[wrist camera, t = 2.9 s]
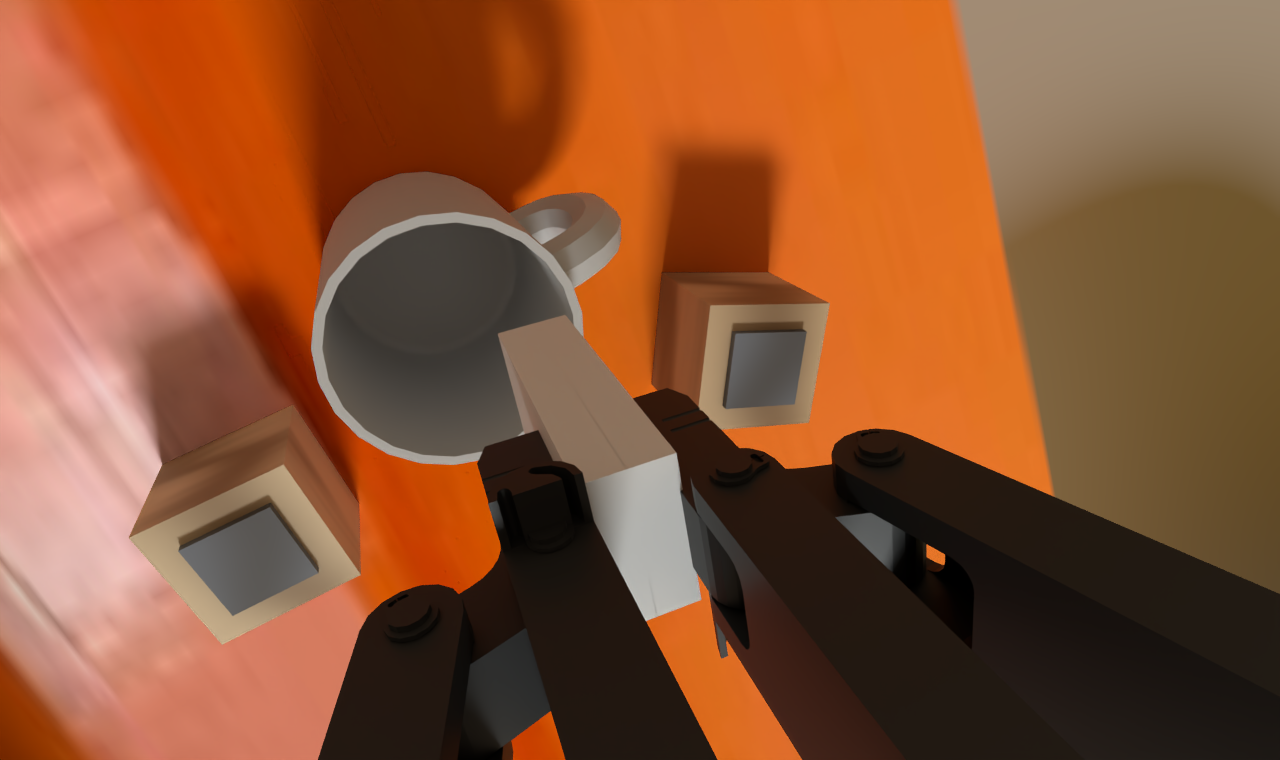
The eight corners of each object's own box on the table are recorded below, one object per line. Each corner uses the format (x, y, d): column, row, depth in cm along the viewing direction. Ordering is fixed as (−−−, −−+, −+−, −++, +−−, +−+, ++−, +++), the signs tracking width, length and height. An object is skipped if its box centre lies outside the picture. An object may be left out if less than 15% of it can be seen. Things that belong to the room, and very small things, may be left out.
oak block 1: (240, 560, 30) (220, 650, 26) (162, 463, 28) (126, 543, 23) (359, 502, 31) (360, 579, 27) (293, 403, 29) (282, 469, 24)
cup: (278, 228, 26) (248, 298, 19) (533, 97, 28) (605, 112, 20) (392, 391, 30) (407, 509, 22) (613, 269, 31) (702, 339, 23)
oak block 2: (650, 383, 34) (698, 434, 29) (661, 271, 32) (713, 307, 27) (752, 378, 35) (812, 425, 31) (767, 271, 34) (834, 305, 29)
